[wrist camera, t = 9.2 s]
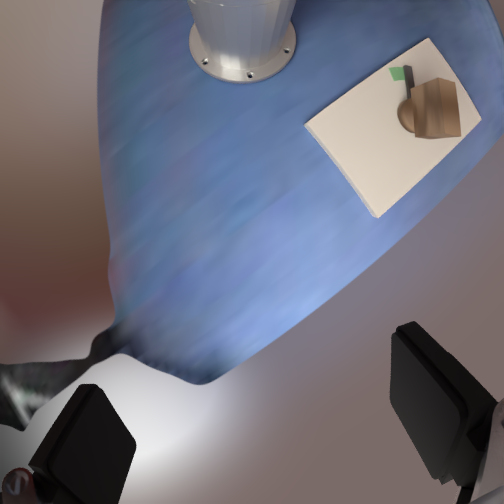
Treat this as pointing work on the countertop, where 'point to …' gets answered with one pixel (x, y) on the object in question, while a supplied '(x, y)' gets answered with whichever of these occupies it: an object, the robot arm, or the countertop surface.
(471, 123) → the white rectangular slab
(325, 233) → the countertop surface
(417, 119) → the brown piece
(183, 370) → the countertop surface
